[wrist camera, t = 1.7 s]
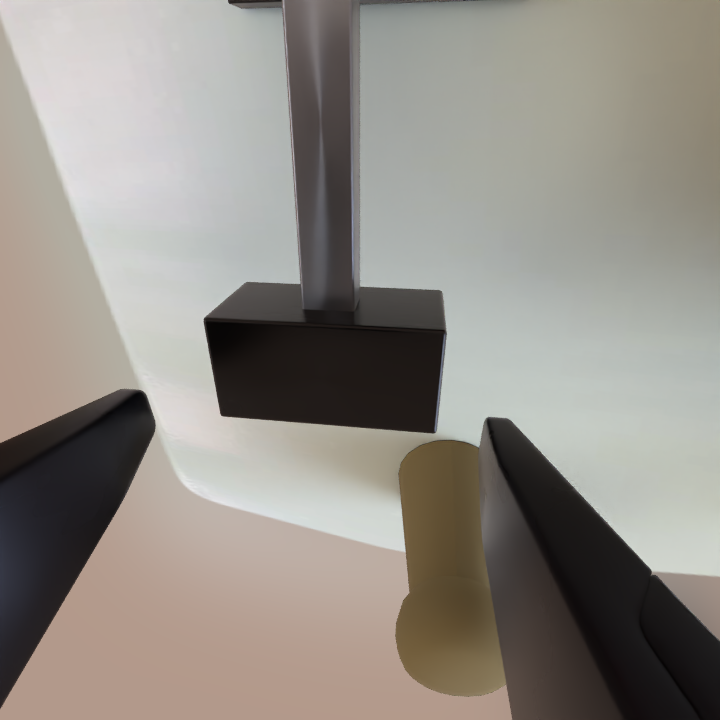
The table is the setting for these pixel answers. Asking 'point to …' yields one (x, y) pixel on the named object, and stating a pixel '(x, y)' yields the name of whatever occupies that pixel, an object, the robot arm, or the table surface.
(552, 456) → the table surface
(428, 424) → the lever
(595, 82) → the table surface
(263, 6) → the toaster
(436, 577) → the cork
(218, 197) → the table surface
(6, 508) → the robot arm
